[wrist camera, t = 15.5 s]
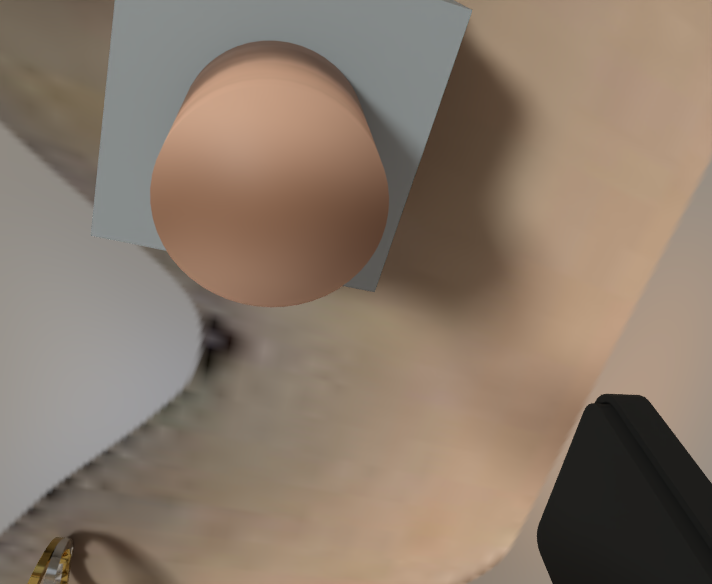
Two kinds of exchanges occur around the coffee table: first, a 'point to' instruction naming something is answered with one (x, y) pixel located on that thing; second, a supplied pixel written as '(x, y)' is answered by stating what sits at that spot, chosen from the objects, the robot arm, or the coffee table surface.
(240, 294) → the drum
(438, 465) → the coffee table surface
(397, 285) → the coffee table surface
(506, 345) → the coffee table surface
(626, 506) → the robot arm
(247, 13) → the upper slab
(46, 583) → the ring
